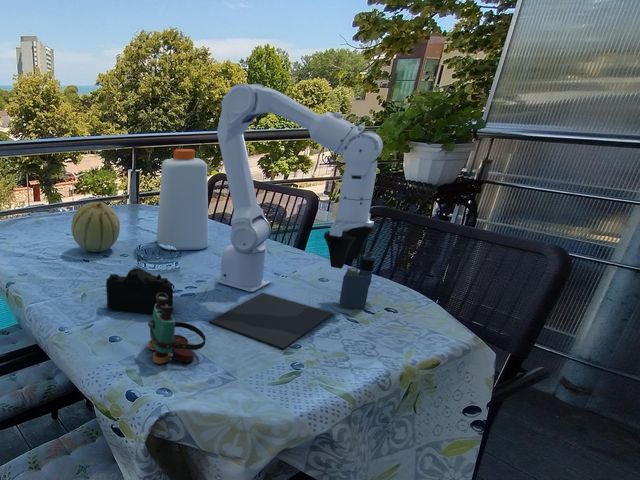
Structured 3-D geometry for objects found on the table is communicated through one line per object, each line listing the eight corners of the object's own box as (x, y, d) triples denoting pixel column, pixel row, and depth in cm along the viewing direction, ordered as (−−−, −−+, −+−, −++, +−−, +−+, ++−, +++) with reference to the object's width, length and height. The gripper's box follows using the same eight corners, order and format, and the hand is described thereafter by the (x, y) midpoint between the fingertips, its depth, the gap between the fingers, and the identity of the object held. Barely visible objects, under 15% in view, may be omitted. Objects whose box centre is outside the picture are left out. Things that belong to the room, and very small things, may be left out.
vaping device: (367, 309, 96) (378, 253, 92) (340, 307, 98) (350, 253, 93) (364, 304, 99) (374, 249, 94) (337, 302, 100) (346, 249, 95)
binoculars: (216, 311, 75) (155, 310, 74) (206, 368, 79) (148, 367, 78) (201, 290, 83) (146, 289, 82) (193, 342, 87) (141, 341, 86)
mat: (209, 322, 93) (209, 320, 93) (262, 294, 105) (262, 292, 105) (283, 350, 82) (283, 348, 82) (333, 314, 95) (333, 313, 94)
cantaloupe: (92, 241, 150) (90, 194, 144) (130, 247, 142) (129, 198, 136) (62, 253, 139) (58, 203, 133) (101, 261, 131) (98, 208, 125)
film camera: (179, 300, 104) (180, 261, 101) (170, 318, 96) (171, 277, 92) (115, 293, 109) (114, 257, 105) (101, 310, 100) (99, 271, 97)
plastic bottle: (210, 250, 137) (215, 151, 126) (159, 252, 137) (160, 153, 126) (202, 236, 151) (206, 146, 140) (155, 238, 151) (156, 148, 140)
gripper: (362, 206, 84) (349, 276, 90) (391, 194, 93) (378, 258, 98) (323, 201, 89) (314, 268, 94) (354, 190, 98) (344, 251, 103)
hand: (344, 262), depth 97 cm, fingers open, 7 cm apart
